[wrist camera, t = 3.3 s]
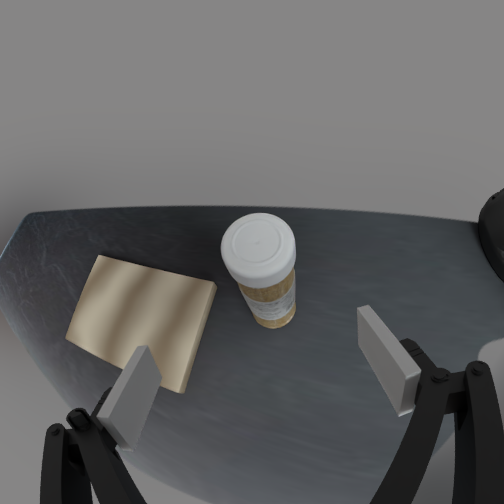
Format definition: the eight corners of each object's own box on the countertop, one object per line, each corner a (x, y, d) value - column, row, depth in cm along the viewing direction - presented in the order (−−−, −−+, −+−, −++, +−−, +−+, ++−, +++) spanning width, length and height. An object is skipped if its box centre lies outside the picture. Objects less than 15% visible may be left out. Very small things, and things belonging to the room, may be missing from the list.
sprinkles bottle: (268, 280, 30) (249, 199, 18) (304, 302, 28) (309, 230, 17) (242, 314, 29) (204, 252, 17) (279, 338, 27) (265, 291, 15)
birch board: (217, 287, 31) (213, 282, 29) (184, 393, 25) (178, 392, 24) (104, 260, 35) (98, 254, 33) (72, 341, 30) (65, 338, 28)
